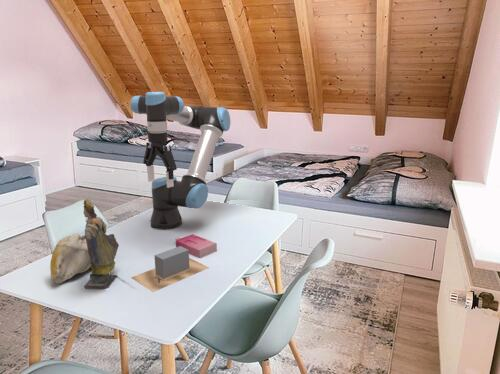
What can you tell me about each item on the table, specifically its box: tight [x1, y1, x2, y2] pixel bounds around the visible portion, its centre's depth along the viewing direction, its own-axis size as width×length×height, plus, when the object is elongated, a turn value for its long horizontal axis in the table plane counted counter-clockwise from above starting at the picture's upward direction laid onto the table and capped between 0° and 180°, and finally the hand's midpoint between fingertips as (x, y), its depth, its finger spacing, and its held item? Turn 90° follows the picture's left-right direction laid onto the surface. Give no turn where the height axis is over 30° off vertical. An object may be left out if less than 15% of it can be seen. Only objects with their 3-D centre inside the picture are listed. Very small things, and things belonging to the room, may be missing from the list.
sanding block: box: [154, 246, 190, 281], centre depth 140 cm, size 11×5×8 cm, turn 136°
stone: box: [49, 232, 92, 284], centre depth 144 cm, size 15×14×25 cm
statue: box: [80, 198, 120, 290], centre depth 134 cm, size 15×11×30 cm
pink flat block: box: [174, 233, 218, 259], centre depth 162 cm, size 9×5×20 cm
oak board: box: [130, 257, 210, 293], centre depth 141 cm, size 24×14×1 cm, turn 136°
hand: (160, 184), depth 161 cm, fingers open, 13 cm apart
